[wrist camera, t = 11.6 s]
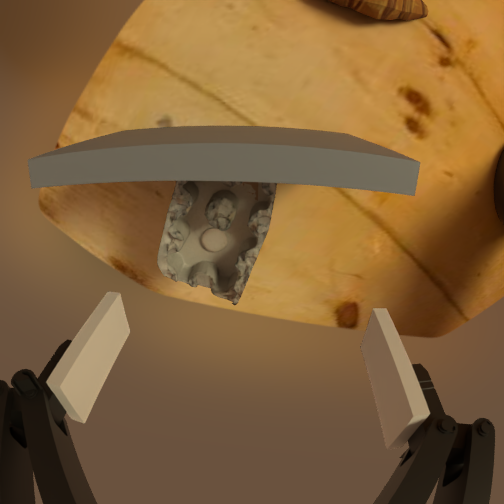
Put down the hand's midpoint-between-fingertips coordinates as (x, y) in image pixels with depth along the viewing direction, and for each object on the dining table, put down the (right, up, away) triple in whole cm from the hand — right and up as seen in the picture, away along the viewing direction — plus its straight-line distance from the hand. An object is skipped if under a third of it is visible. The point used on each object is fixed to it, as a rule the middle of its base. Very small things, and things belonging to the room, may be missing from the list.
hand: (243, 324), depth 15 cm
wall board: (-2, +12, +16) cm, 20 cm away
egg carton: (-2, +6, +10) cm, 12 cm away
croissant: (+13, +31, +6) cm, 34 cm away
